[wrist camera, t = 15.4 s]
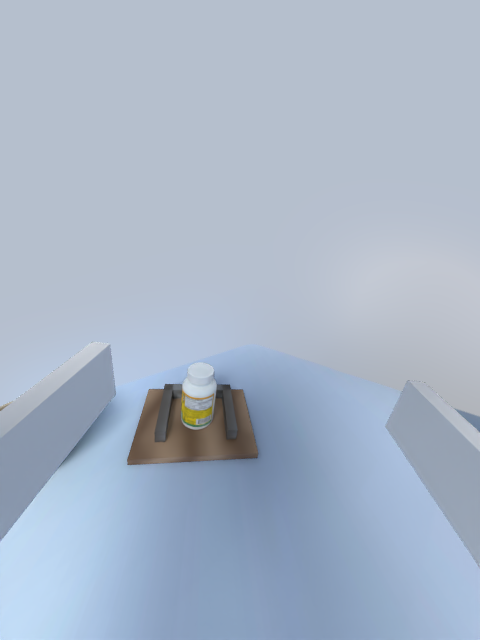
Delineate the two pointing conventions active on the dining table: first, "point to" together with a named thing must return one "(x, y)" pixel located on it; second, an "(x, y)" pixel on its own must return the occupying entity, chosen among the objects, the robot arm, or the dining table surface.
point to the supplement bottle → (198, 396)
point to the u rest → (188, 444)
